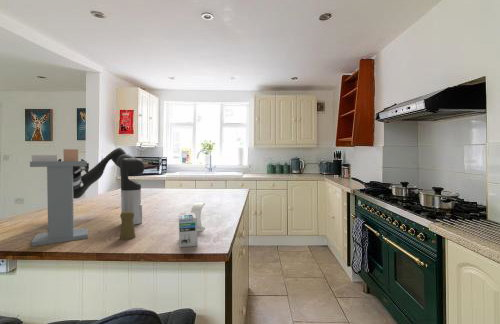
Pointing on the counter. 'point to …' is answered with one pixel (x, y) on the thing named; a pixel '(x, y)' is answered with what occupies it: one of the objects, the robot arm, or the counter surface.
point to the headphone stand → (198, 214)
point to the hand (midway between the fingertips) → (71, 160)
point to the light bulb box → (187, 229)
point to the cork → (127, 226)
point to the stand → (59, 200)
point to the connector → (70, 154)
